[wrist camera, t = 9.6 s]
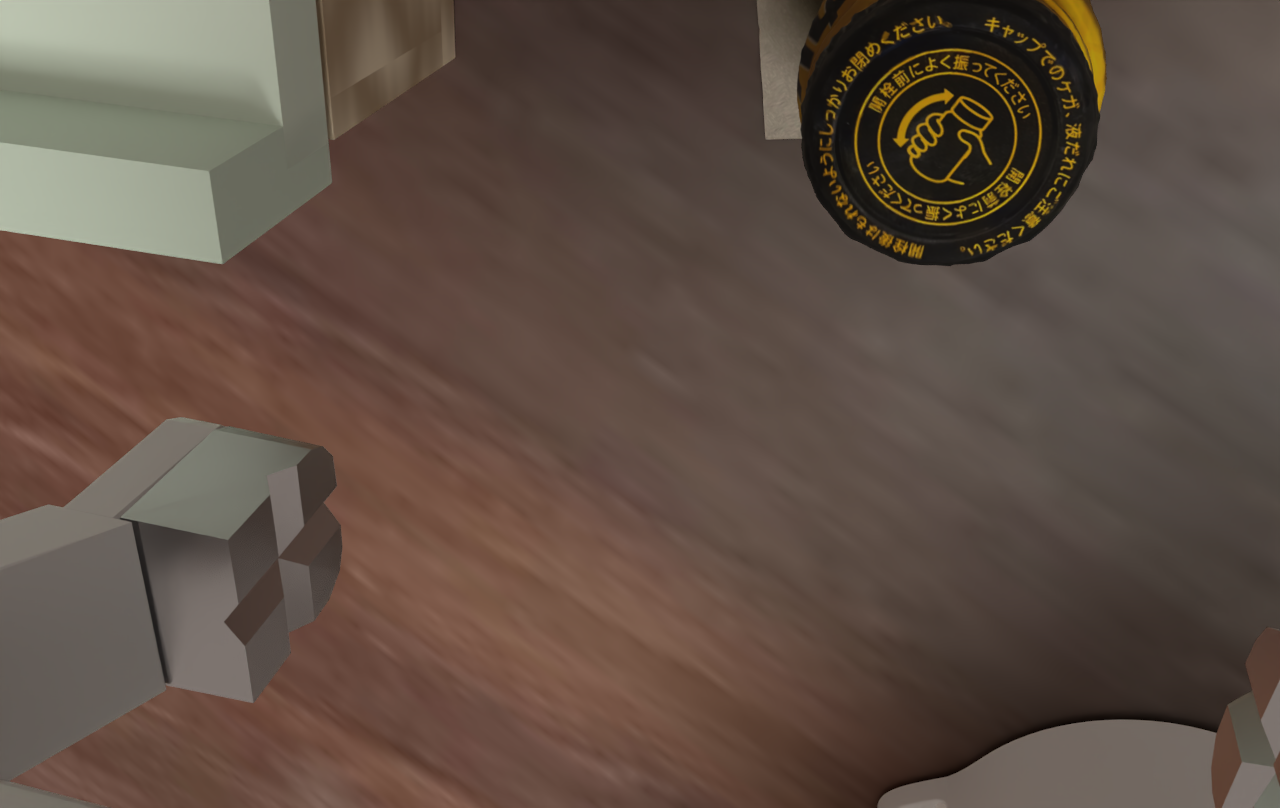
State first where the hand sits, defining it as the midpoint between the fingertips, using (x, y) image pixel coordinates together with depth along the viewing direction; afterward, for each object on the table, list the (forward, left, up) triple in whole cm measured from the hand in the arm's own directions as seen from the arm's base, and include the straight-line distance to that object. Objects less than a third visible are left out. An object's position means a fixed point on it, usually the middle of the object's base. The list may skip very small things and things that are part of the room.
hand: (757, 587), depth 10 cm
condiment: (0, 0, -25) cm, 25 cm away
